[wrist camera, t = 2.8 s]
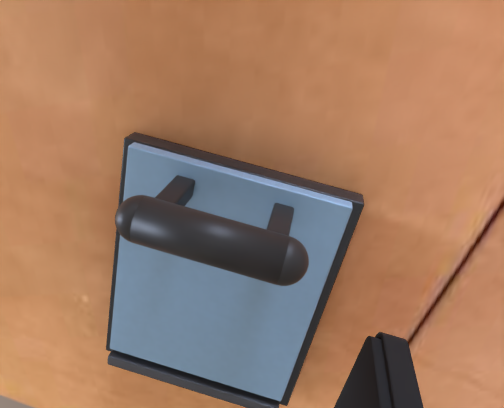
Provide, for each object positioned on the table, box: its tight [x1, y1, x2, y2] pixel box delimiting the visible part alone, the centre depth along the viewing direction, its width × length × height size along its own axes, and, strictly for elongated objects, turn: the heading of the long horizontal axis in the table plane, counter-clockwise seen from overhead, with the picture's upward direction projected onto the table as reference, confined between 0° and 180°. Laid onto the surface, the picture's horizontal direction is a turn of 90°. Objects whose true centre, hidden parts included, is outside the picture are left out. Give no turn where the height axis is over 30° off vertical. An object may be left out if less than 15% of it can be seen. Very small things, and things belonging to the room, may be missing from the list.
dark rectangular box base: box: [106, 132, 364, 408], centre depth 19 cm, size 12×10×2 cm
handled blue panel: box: [110, 142, 353, 401], centre depth 17 cm, size 11×9×5 cm
